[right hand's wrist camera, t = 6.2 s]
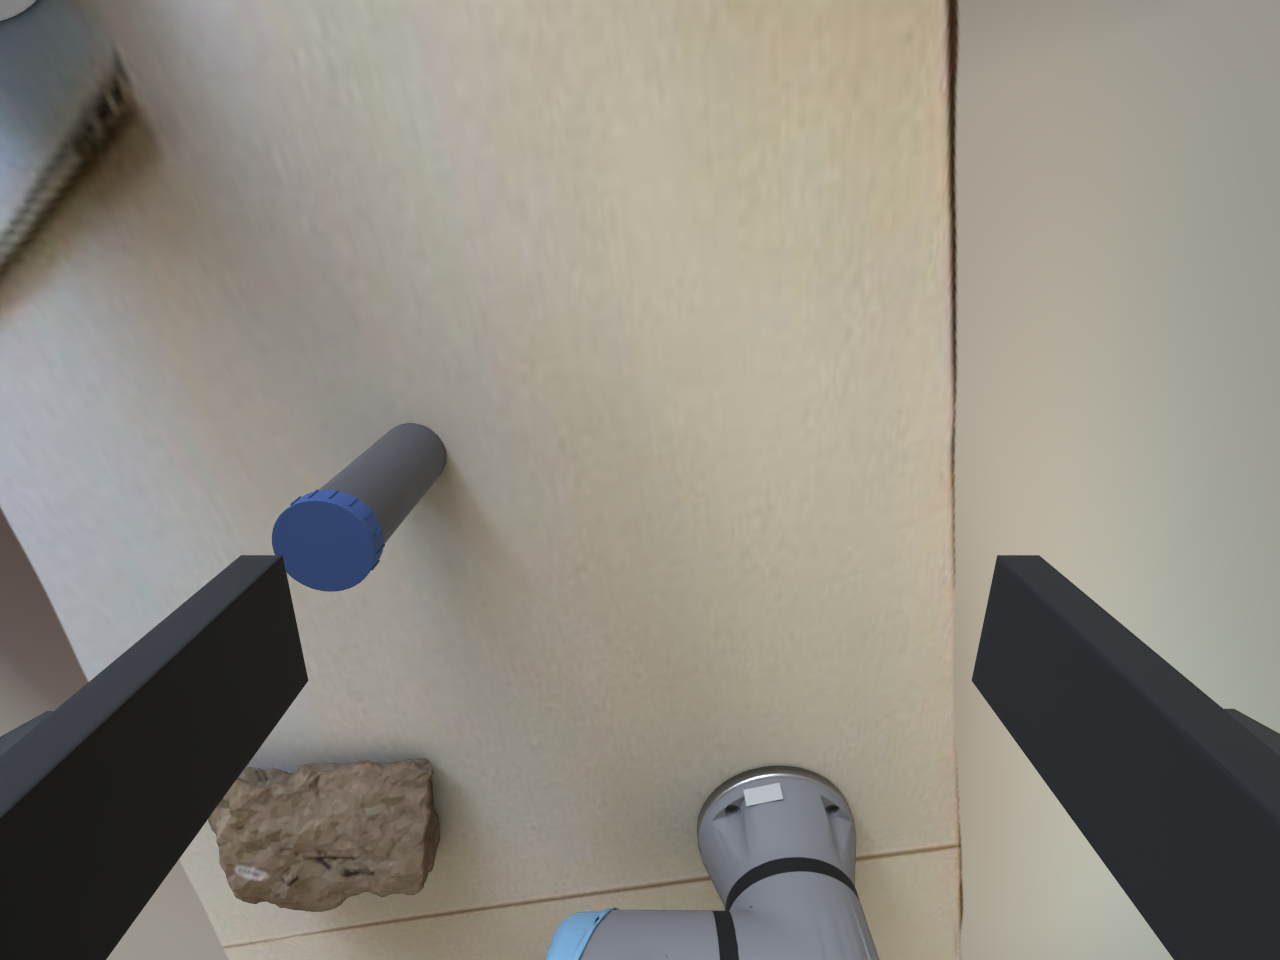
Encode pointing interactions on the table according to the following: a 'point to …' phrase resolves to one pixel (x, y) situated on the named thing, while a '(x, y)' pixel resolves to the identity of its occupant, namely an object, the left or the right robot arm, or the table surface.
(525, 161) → the table surface
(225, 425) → the table surface
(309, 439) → the table surface
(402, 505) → the dark grey bottle
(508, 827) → the table surface
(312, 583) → the lid
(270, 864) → the stone
